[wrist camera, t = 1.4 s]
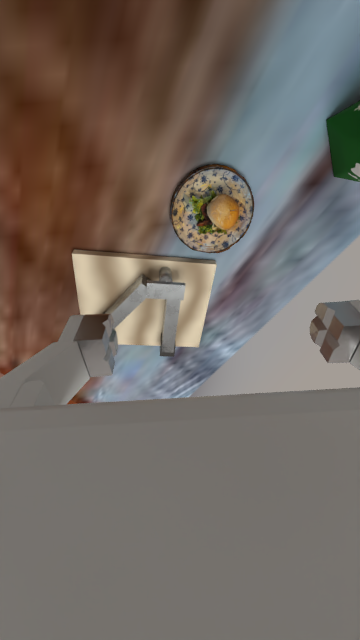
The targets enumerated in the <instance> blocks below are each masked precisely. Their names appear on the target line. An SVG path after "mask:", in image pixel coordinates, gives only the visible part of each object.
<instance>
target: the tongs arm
mask: <svg viewBox="0 0 360 640" xmlns="http://www.w3.org/2000/svg"><path fill="white" fill-rule="evenodd" d="M147 280H150V279H148V278H147V277H146V276H145V275H143V274H142V275H141V276H140V277H139V278H138V279H137V280H136V281H135V282H134V283H133V284H132V285H131V286H130V287H129V288H128V289H127V290H126V291H125V292H124V293H123V294H122V295H121V296H120V297H119V298H118V299H117V300H116V301H115V302H114V303H113V304H112V305H111V306H110V307H109V308H108V310H107V311H106V312H103V313H102V314H111V315H112V317H113V320H114V325H113V329H114V330H115V328H116V327H117V326H118V325H119V324H120V323H121V322H122V321H123V320H124V319H125V318H126V317H127V316H128V315H129V314H130V313H131V312H132V311H133V310H134V309H135V308H137V307H138V306H139V305H140V304H141V303H142V302H143V301H144V300H145V299H146V292H147Z"/></svg>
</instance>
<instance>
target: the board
mask: <svg viewBox="0 0 360 640" xmlns="http://www.w3.org/2000/svg"><path fill="white" fill-rule="evenodd" d="M72 258H73V266H74V273H75V280H76V287H77V294H78V301H79V308H80V315H86V314H102V313H103V312H106V311H107V310H108V308H109V307H110V306H111V305H112V304H113V303H114V302H115V301H116V300H117V299H118V298H119V297H120V296H121V295H122V294H123V293H124V292H125V291H126V290H127V289H128V288H129V287H130V286H131V285H132V284H133V283H134V282H135V281H136V280H137V279H138V278H139V277H140V276H141V275H142V274H143V275H145V276H146V277H147V278H148V279H150V280H151V281H159V270H160V269H161V268H162V267H169V268H170V269H171V272H172V282H181V283H185V285H186V286H185V293H184V300H181V302H180V309H179V316H178V324H177V331H176V338H175V343H176V346H183V347H199V343H200V339H201V334H202V329H203V325H204V320H205V316H206V311H207V306H208V302H209V297H210V293H211V288H212V284H213V279H214V274H215V270H216V265H217V264H216V262H215V260H203V259H190V258H178V257H165V256H152V255H139V254H126V253H113V252H101V251H88V250H75V249H74V251H73V252H72ZM164 307H165V299H151V298H146V299H145V300H144V301H143V302H142V303H141V304H140V305H139V306H138V307H137V308H135V309H134V310H133V311H132V312H131V313H130V314H129V315H128V316H127V317H126V318H125V319H124V320H123V321H122V322H121V323H120V324H119V325H118V326H117V327H116V328H115V331H116V333H117V339H118V344H125V345H154V346H160V337H161V333H162V328H163V317H164Z"/></svg>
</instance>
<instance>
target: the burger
mask: <svg viewBox="0 0 360 640" xmlns="http://www.w3.org/2000/svg"><path fill="white" fill-rule="evenodd" d="M193 171H194V172H190V173H189V176H188V177H187V178H186V180H185V181H184V182H183V183H182V182H181V183H182V184H181V185H180V186H179V185H178V186H177V188H176V190H175V191H174V193H173V197H172V203H171V210H170V218H171V222H172V224H173V227H174V231H175V233H176V234H177V236H178V237H179V239H180V240H181V241H182V242H183V243H184V244H185V245H187V246H188V247H189V248H190V249H192V250H196V251H201V252H206V253H220V252H223V251H226V250H228V249H230V247H231V246H232V245H234V244H235V243H237V242H238V241H239V240H240V239H241V238H242V237H243V236H244V235H245V233H246V231H247V230H248V228H249V226H250V223H251V220H252V217H253V212H254V199H253V195H252V192H251V189H250V186H249V185H248V183H247V182H246V180H245V178H244V177H242V176H240V175H239V174H238V173H237V172H236V171H235V170H234V169H232V168H229V167H227V166H224V165H218V164H213V165H206V166H202V167H199V168H197V169H196V170H193Z"/></svg>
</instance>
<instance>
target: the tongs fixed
mask: <svg viewBox="0 0 360 640" xmlns="http://www.w3.org/2000/svg"><path fill="white" fill-rule="evenodd" d="M185 286H186V285H185V283H181V282H172V272H171V269H170V268H169V267H162V268H161V269H160V270H159V281H151V280H147V292H146V298H151V299H165V307H164V317H163V328H162V333H161V337H160V356H174V353H175V346H176V343H175V338H176V331H177V324H178V316H179V309H180V302H181V300H184V293H185Z"/></svg>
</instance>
